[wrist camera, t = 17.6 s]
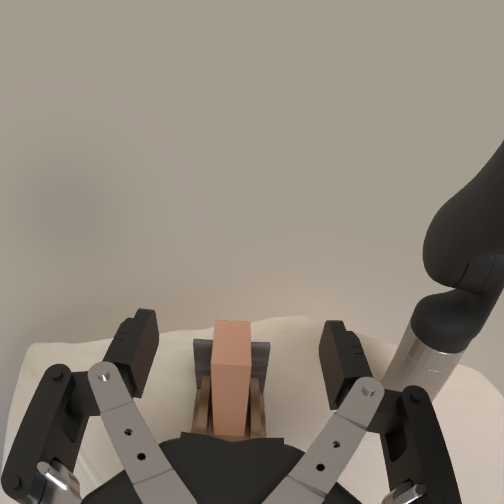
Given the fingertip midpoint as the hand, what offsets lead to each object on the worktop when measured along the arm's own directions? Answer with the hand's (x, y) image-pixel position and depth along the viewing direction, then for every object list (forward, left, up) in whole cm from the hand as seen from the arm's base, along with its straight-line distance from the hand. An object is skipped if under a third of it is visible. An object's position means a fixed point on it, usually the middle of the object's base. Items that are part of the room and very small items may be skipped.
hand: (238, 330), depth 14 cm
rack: (-8, -10, -30) cm, 32 cm away
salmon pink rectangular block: (-8, -10, -28) cm, 31 cm away
